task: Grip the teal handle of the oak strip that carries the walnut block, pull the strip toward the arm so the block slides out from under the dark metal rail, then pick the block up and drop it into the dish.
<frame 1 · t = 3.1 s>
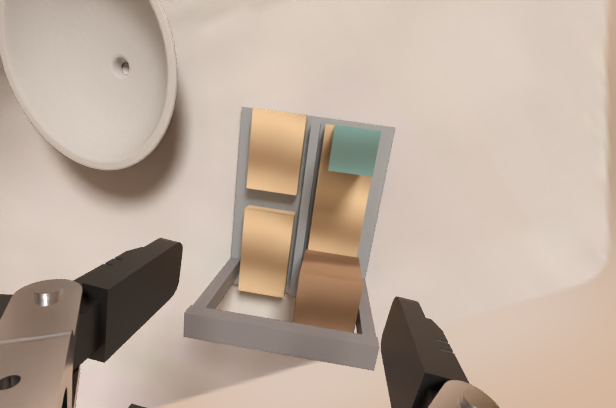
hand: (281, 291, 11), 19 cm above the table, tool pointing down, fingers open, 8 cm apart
strip 1: (337, 231, 25), point 5 cm above the table, slide at 0.0 cm, touching walnut block
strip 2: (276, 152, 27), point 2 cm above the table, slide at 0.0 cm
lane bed: (305, 210, 30), on the table
walnut block: (328, 277, 29), point 2 cm above the table, touching strip 1
dish: (129, 69, 28), on the table
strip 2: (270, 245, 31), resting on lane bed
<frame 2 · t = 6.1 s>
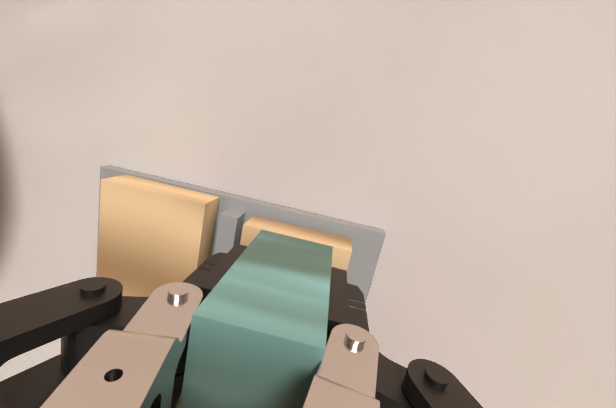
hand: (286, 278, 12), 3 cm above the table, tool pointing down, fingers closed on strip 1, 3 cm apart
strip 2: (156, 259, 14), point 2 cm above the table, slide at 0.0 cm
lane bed: (218, 349, 17), on the table
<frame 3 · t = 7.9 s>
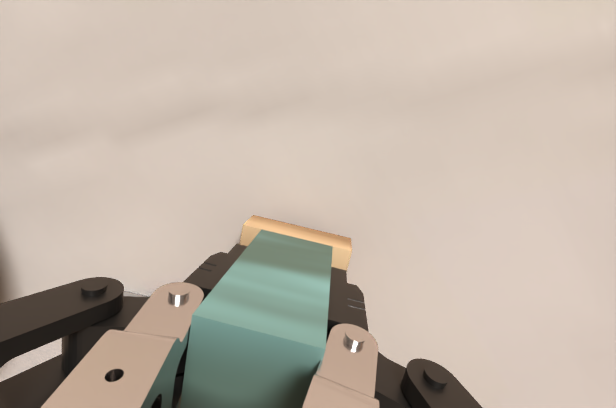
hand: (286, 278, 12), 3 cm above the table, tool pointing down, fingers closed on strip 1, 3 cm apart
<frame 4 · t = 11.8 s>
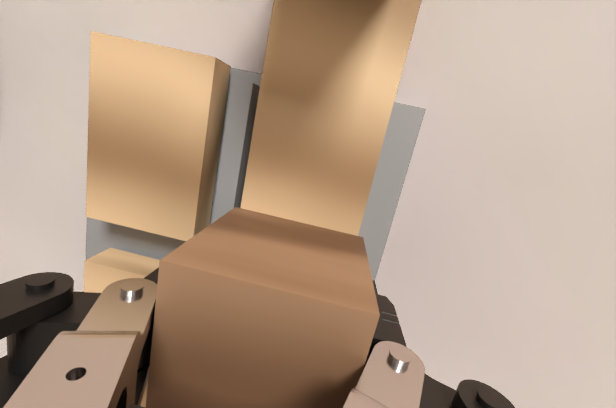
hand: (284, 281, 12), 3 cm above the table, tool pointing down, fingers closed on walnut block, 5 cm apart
strip 1: (308, 145, 9), point 5 cm above the table, slide at 6.9 cm, touching walnut block
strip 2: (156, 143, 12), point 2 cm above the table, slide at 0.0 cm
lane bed: (227, 266, 15), on the table
walnut block: (286, 280, 12), point 2 cm above the table, touching gripper, strip 1
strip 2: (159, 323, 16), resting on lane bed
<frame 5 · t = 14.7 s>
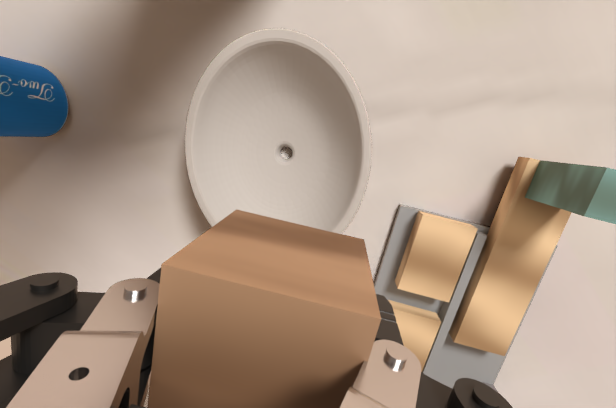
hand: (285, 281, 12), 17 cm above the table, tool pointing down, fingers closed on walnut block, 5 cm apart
strip 1: (533, 276, 23), point 5 cm above the table, slide at 6.9 cm
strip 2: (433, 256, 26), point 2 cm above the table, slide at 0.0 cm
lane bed: (441, 309, 29), on the table
walnut block: (286, 282, 12), point 17 cm above the table, touching gripper
dish: (286, 152, 28), on the table
beverage can: (46, 102, 29), on the table
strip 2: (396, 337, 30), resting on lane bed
when the fingers open (7 cm above the table, at t = 17.3 s): walnut block drops 2 cm, resting on dish.
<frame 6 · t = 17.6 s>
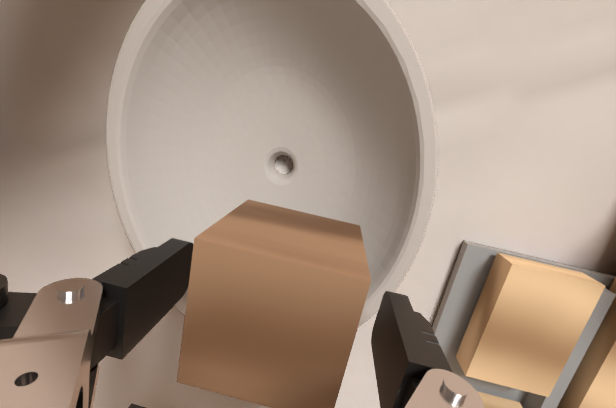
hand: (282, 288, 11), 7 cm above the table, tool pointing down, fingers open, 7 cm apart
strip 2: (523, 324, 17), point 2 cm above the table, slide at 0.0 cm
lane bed: (524, 393, 19), on the table
walnut block: (292, 263, 14), point 5 cm above the table, touching dish
dish: (285, 164, 18), on the table, touching walnut block
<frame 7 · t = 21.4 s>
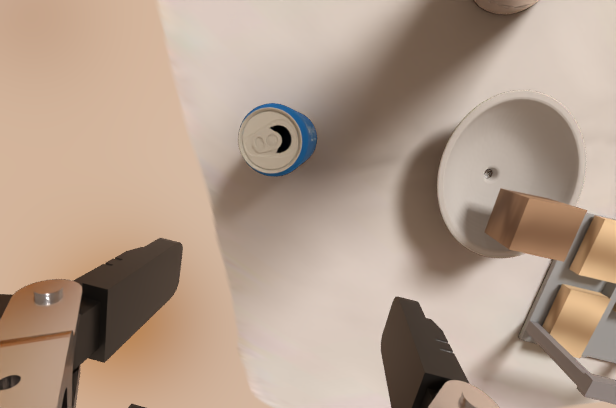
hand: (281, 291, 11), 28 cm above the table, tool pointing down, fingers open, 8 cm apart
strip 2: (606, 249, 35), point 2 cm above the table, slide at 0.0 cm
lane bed: (601, 290, 38), on the table
walnut block: (515, 215, 32), point 5 cm above the table, touching dish
dish: (486, 173, 36), on the table, touching walnut block
beverage can: (291, 138, 38), on the table
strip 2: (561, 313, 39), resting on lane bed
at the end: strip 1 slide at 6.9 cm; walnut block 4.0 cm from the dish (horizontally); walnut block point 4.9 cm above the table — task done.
